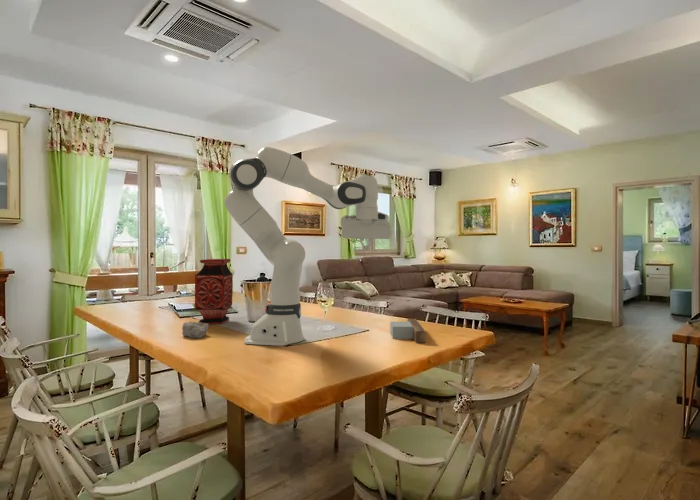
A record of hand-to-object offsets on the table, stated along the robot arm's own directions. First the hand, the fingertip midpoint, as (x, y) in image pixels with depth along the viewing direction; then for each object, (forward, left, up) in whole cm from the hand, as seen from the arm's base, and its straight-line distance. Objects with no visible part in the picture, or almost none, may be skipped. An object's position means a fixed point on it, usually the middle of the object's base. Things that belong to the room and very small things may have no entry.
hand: (365, 249), depth 163 cm
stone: (-69, -1, -35) cm, 78 cm away
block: (+14, -1, -35) cm, 38 cm away
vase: (-72, +27, -35) cm, 84 cm away
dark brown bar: (+20, -1, -35) cm, 40 cm away
